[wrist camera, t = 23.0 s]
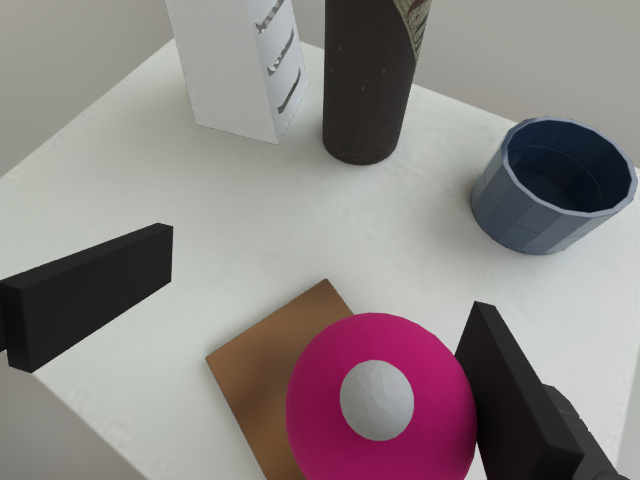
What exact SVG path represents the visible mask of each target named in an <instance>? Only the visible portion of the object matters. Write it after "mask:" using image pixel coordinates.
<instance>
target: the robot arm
mask: <svg viewBox="0 0 640 480" xmlns="http://www.w3.org/2000/svg"><path fill="white" fill-rule="evenodd" d="M172 246H173V226H169V225H165V224H161V223H156V224H153V225H150V226H147V227H145V228H142V229H139V230H137V231H134V232H131V233H128V234H126V235H123V236H120V237H118V238H115V239H112V240H109V241H107V242H104V243H101V244H99V245H96V246H93V247H90V248H88V249H85V250H82V251H80V252H77V253H74V254H72V255H69V256H66V257H63V258H61V259H58V260H54V261H52V262H49V263H46V264H43V265H41V266H39V267H35V268H33V269H30V270H27V271H25V272H22V273H19V274H16V275H14V276H11V277H8V278H5V279H3V280H0V352H2V351H4V350H5V349H6V350H7V357H8V363H9V366H10V367H13V368H16V369H19V370H22V371H25V372H28V373H33V372H34V371H36V370H37V369H39V368H40V367H42V366H43V365H45V364H46V363H48V362H49V361H51V360H52V359H54V358H55V357H57V356H59V355H60V354H62V353H63V352H65V351H66V350H68V349H69V348H71V347H72V346H74V345H75V344H77V343H78V342H80V341H81V340H83V339H84V338H86V337H87V336H89V335H90V334H92V333H93V332H95V331H97V330H98V329H100V328H101V327H103V326H104V325H106V324H107V323H109V322H110V321H112V320H113V319H115V318H116V317H118V316H119V315H121V314H122V313H124V312H125V311H127V310H128V309H130V308H132V307H133V306H135V305H136V304H138V303H139V302H141V301H142V300H144V299H145V298H147V297H148V296H150V295H151V294H153V293H154V292H156V291H157V290H159V289H160V288H162V287H163V286H165V285H167V284H168V283H170V282H171V272H172ZM454 357H455V358H456V359H457V361H458V362H459V364H460V365H461V367H462V369H463V371H464V373H465V375H466V377H467V379H468V381H469V383H470V387H471V390H472V394H473V397H474V401H475V405H476V414H477V425H478V428H477V444H478V448H479V452H480V455H481V459H482V462H483V466H484V470H485V473H486V477H487V480H630V479H628V478H626V477H624V476H622V475H619V474H618V473H617V471H616V470H615V468H614V467H613V465H612V464H611V462H610V461H609V459H608V458H607V456H606V455H605V453H604V452H603V450H602V449H601V447H600V446H599V444H598V443H597V441H596V440H595V438H594V437H593V435H592V434H591V432H589V431H588V428H587V427H586V425H585V424H584V422H583V421H582V419H579V415H578V413H577V412H576V410H575V409H574V407H573V406H572V404H571V403H570V401H569V400H568V399H567V398H565V397H564V396H563V395H562V394H561V393H560V392H559V391H558V390H557V389H556V388H555V387H553V386H549V385H545V384H542V383H541V381H540V380H539V378H538V376H537V375H536V373H535V371H534V370H533V368H532V366H531V365H530V363H529V361H528V360H527V358H526V357H525V355H524V353H523V352H522V350H521V348H520V347H519V345H518V343H517V342H516V340H515V338H514V337H513V335H512V333H511V332H510V330H509V328H508V327H507V325H506V324H505V322H504V320H503V319H502V317H501V315H500V314H499V312H498V310H497V309H496V307H495V306H494V305H490V304H486V303H482V302H477V301H474V304H473V307H472V309H471V312H470V315H469V317H468V320H467V323H466V326H465V328H464V331H463V334H462V336H461V339H460V342H459V344H458V347H457V350H456V353H455V355H454Z"/></svg>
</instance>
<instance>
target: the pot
mask: <svg viewBox="0 0 640 480" xmlns="http://www.w3.org/2000/svg"><path fill="white" fill-rule="evenodd" d="M637 184H638V179H637V176H636V173H635V169H634V166H633V163H632V161H631V159H630V158H629V157H628V156H627V154H626V153H625V152H624V151H623V150H622V148H621V147H620V146H619V145H618V143H616V142H615V141H614V140H612V139H611V138H610V137H608V136H607V135H605V134H604V133H602V132H601V131H599V130H598V129H596V128H594V127H592V126H589V125H586V124H584V123H581V122H578V121H575V120H573V119H569V118H560V117H551V116H544V117H538V118H532V119H526V120H524V121H522V122H521V123H519V124H518V125H516V126H514V127H513V128H511V129H510V130H509V131H508V132H507V134H506V135H505V137H504V138H503V140H502V141H501V143H500V144H499V146H498V148H497V149H496V151H495V152H494V154H493V155H492V157H491V158H490V160H489V161H488V163H487V164H486V166H485V168H484V169H483V171H482V172H481V174H480V175H479V177H478V179H477V181H476V183H475V184H474V186H473V188H472V192H471V199H470V201H471V208H472V212H473V214H474V216H475V219H476V220H477V222H478V224H479V225H480V226H481V228H482V229H483V230H484V231H485V232H486V233H487V234H488V235H489V236H490V237H491V238H492V239H494V240H495V241H497V242H498V243H500V244H501V245H503V246H505V247H507V248H509V249H512V250H514V251H517V252H520V253H525V254H531V255H546V254H552V253H556V252H558V251H561V250H564V249H566V248H567V247H568V246H570V245H571V244H573V243H574V242H576V241H577V240H579V239H580V238H582V237H583V236H585V235H586V234H587V233H589V232H590V231H592V230H593V229H595V228H596V227H598V226H599V225H601V224H602V223H604V222H605V221H606V220H608V219H609V218H611V217H612V216H614V215H615V214H617V213H618V212H619V211H620V210H622V209H623V208H624V207H625V206H627V205H628V204H629V203H630V202H631V201H632V200H633V198H634V195H635V191H636V187H637Z"/></svg>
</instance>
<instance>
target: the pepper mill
mask: <svg viewBox="0 0 640 480" xmlns="http://www.w3.org/2000/svg"><path fill="white" fill-rule="evenodd" d="M285 421H286V430H287V435H288V440H289V444H290V447H291V450H292V452H293V455H294V458H295V460H296V463H297V465H298V466H299V468H300V470H301V471H302V473H303V474H304V476H305V477H306V479H307V480H464V478H465V477H466V475H467V473H468V471H469V468H470V466H471V463H472V461H473V458H474V453H475V447H476V441H477V428H478V425H477V414H476V405H475V401H474V397H473V394H472V390H471V387H470V383H469V381H468V379H467V377H466V375H465V373H464V371H463V369H462V367H461V365H460V364H459V362H458V361H457V359H456V358H455V357H454V355H453V354H452V352H451V351H450V350H449V349H448V348H447V347H446V346H445V345H444V344H443V343H442V342H441V341H440V340H439V339H438V338H437V337H436V336H435V335H434V334H432V333H430V332H429V331H427V330H426V329H424V328H423V327H421V326H420V325H418V324H416V323H414V322H412V321H409V320H407V319H405V318H403V317H399V316H394V315H390V314H386V313H363V314H356V315H352V316H349V317H346V318H343V319H340V320H338V321H336V322H335V323H333V324H331V325H329V326H327V327H326V328H325V329H323V330H322V331H321V332H320V333H319V334H317V335H316V336H315V337H314V338H313V339H312V340H311V342H310V343H309V344H308V345H307V346H306V347H305V349H304V350H303V352H302V353H301V355H300V357H299V358H298V360H297V362H296V364H295V367H294V369H293V372H292V374H291V377H290V380H289V383H288V387H287V394H286V400H285Z"/></svg>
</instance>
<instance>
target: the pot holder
mask: <svg viewBox="0 0 640 480" xmlns="http://www.w3.org/2000/svg"><path fill="white" fill-rule="evenodd" d="M352 315H354V314H353V313H352V311H351V310H350V309H349V307H348V306H347V305H346V303H345V302H344V301H343V299H342V298H341V297H340V295H339V294H338V293H337V291H336V290H335V289H334V287H333V286H332V285H331V283H330V282H329V280H328V279H327V278H326V279H324V280H323V281H321V282H320V283H318V284H317V285H315V286H314V287H312V288H310V289H309V290H307V291H306V292H304V293H303V294H301V295H300V296H298V297H297V298H295V299H294V300H292V301H291V302H289V303H288V304H286V305H285V306H283V307H282V308H280V309H279V310H277V311H276V312H274V313H273V314H271V315H269V316H268V317H266V318H265V319H263V320H262V321H260V322H259V323H257V324H256V325H254V326H253V327H251V328H250V329H248V330H247V331H245V332H244V333H242V334H241V335H239V336H238V337H236V338H235V339H233V340H232V341H230V342H228V343H227V344H225V345H224V346H222V347H221V348H219V349H218V350H216V351H215V352H213V353H212V354H210V355H209V356H207V357H206V358H205V359H206V361H207V363H208V365H209V367H210V369H211V371H212V373H213V375H214V377H215V379H216V381H217V383H218V385H219V387H220V389H221V391H222V393H223V394H224V396H225V398H226V400H227V402H228V404H229V406H230V408H231V410H232V412H233V414H234V416H235V418H236V420H237V422H238V424H239V426H240V428H241V430H242V432H243V434H244V436H245V438H246V440H247V442H248V444H249V446H250V447H251V449H252V451H253V453H254V455H255V457H256V459H257V461H258V463H259V465H260V467H261V469H262V471H263V473H264V475H265V477H266V479H267V480H307V479H306V477H305V476H304V474H303V473H302V471H301V470H300V468H299V466H298V465H297V463H296V460H295V458H294V455H293V452H292V450H291V447H290V444H289V440H288V435H287V430H286V421H285V400H286V394H287V387H288V383H289V380H290V377H291V374H292V372H293V369H294V367H295V364H296V362H297V360H298V358H299V357H300V355H301V353H302V352H303V350H304V349H305V347H306V346H307V345H308V344H309V343H310V342H311V340H312V339H313V338H314V337H315V336H316V335H317V334H319V333H320V332H321V331H322V330H323V329H325V328H326V327H327V326H329V325H331V324H333V323H335V322H336V321H338V320H340V319H343V318H346V317H349V316H352Z"/></svg>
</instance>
